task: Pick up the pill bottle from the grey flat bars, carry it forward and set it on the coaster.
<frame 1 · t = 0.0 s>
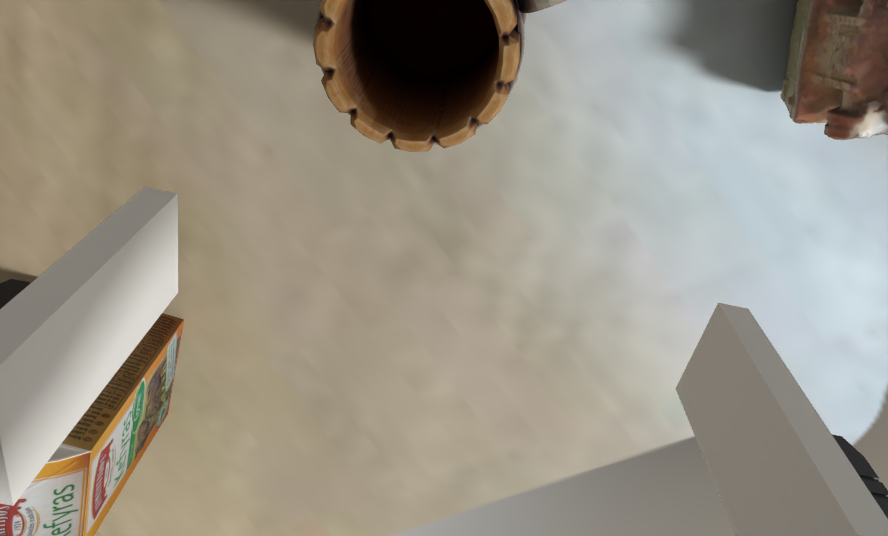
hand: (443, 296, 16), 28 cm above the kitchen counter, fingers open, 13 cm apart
milk carton: (112, 349, 53), on the kitchen counter
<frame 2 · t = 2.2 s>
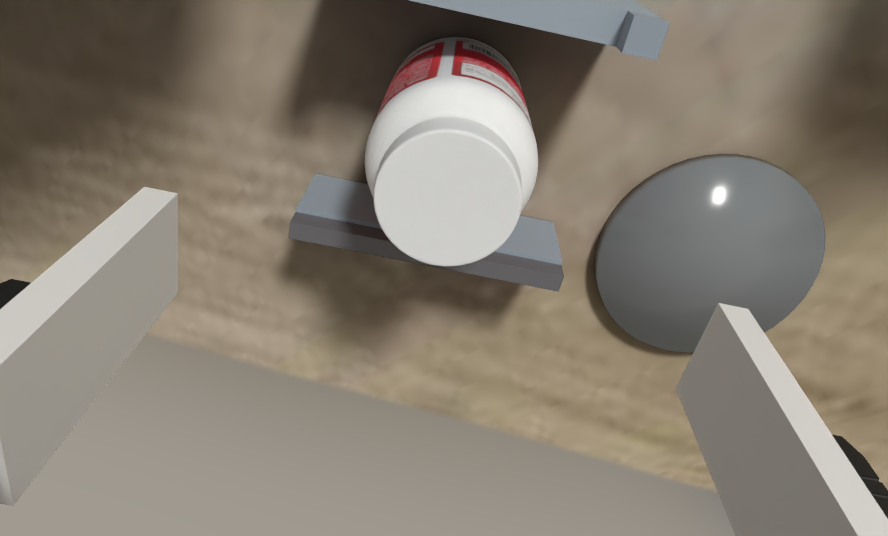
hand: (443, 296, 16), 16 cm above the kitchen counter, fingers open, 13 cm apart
pill bottle: (456, 102, 30), on the kitchen counter
coaster: (703, 256, 33), on the kitchen counter
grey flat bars: (456, 104, 30), on the kitchen counter
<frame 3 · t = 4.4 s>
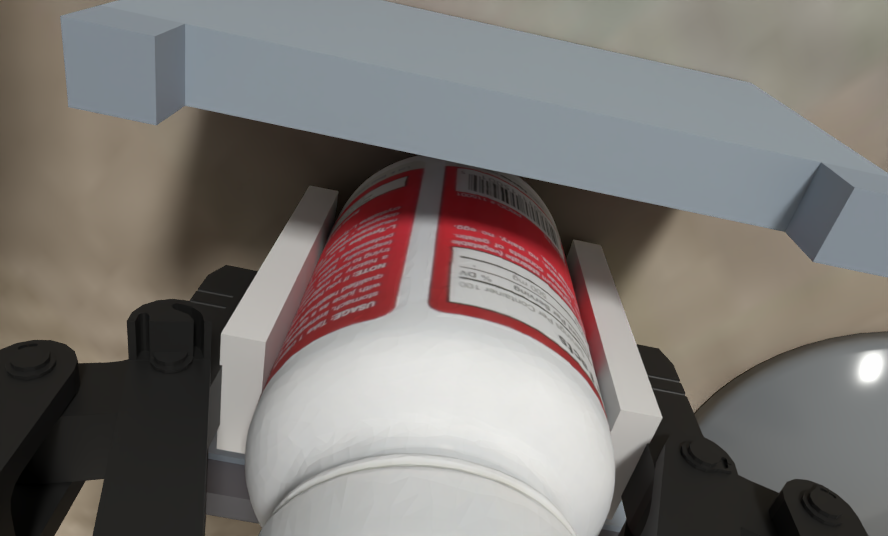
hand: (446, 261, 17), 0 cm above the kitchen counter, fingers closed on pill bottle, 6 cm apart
pill bottle: (447, 249, 18), on the kitchen counter, touching gripper
coaster: (838, 470, 21), on the kitchen counter
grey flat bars: (447, 253, 18), on the kitchen counter
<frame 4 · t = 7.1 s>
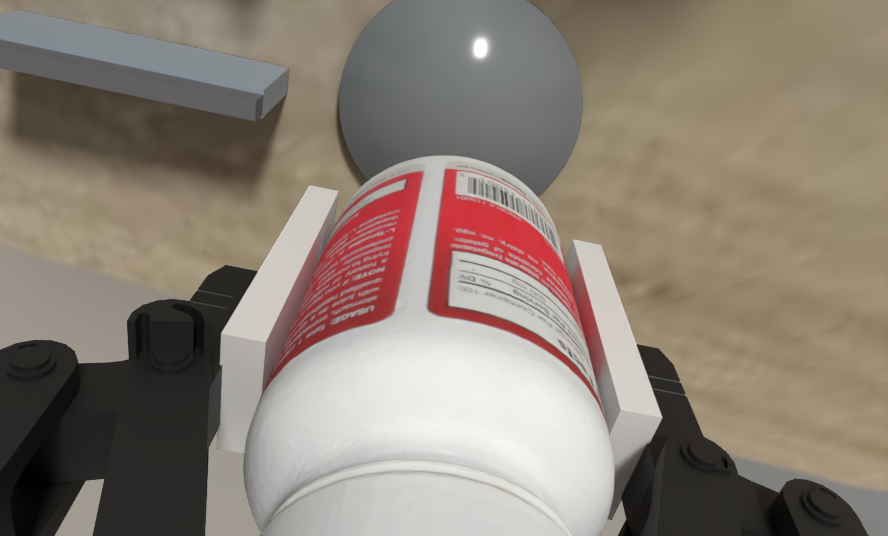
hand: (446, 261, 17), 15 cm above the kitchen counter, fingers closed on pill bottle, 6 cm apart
pill bottle: (447, 252, 18), point 14 cm above the kitchen counter, touching gripper
coaster: (460, 108, 30), on the kitchen counter
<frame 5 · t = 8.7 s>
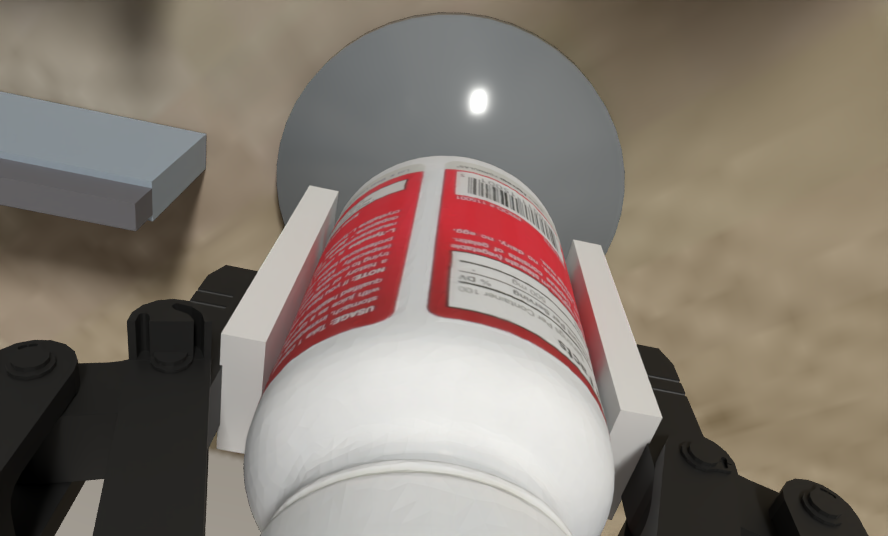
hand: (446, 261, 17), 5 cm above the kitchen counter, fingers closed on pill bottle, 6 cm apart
pill bottle: (447, 252, 18), point 4 cm above the kitchen counter, touching gripper
coaster: (449, 190, 21), on the kitchen counter
when the fingers open (2 cm above the kitchen counter, at t = 10.0 s): pill bottle drops 1 cm, resting on coaster.
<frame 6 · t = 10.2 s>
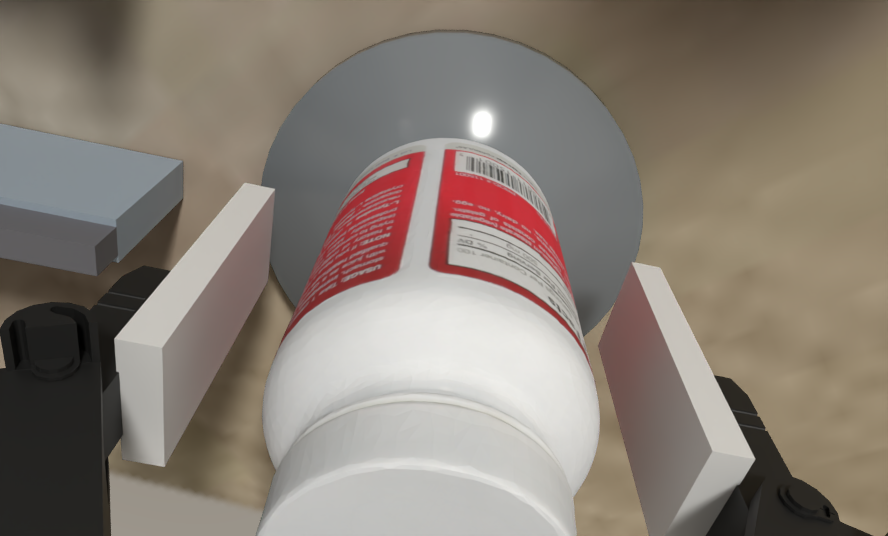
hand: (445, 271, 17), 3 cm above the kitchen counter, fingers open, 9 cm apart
pill bottle: (447, 231, 19), point 1 cm above the kitchen counter, touching coaster
coaster: (450, 222, 19), on the kitchen counter
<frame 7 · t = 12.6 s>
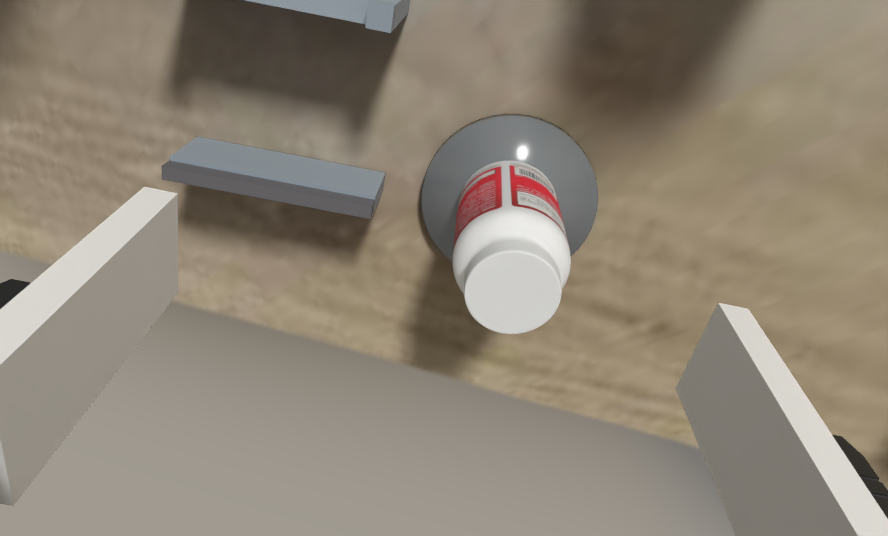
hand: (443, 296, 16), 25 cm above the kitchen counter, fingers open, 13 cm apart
pill bottle: (507, 203, 41), point 1 cm above the kitchen counter, touching coaster
coaster: (508, 199, 41), on the kitchen counter
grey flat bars: (296, 78, 38), on the kitchen counter
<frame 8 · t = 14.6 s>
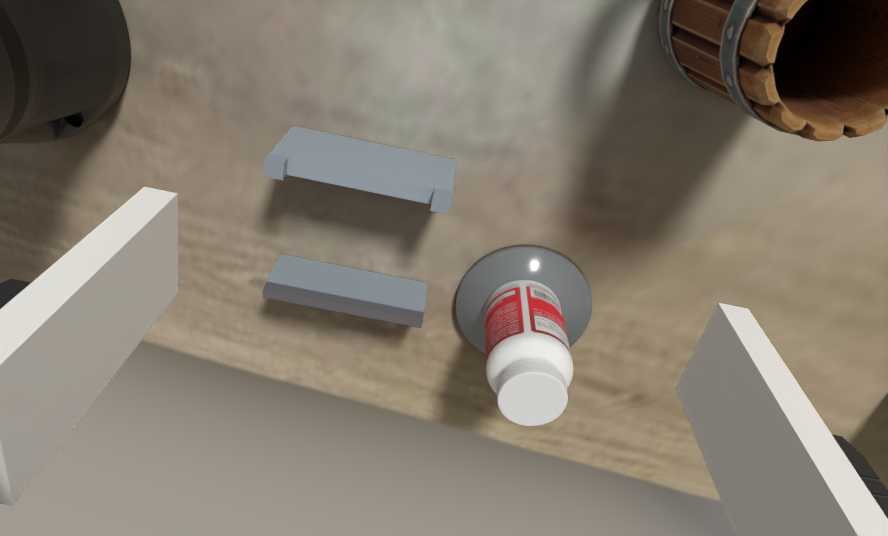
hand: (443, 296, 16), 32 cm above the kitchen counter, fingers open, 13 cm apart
pill bottle: (522, 308, 53), point 1 cm above the kitchen counter, touching coaster
coaster: (522, 304, 53), on the kitchen counter
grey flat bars: (363, 216, 50), on the kitchen counter
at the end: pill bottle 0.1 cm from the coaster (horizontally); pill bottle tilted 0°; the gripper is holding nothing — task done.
